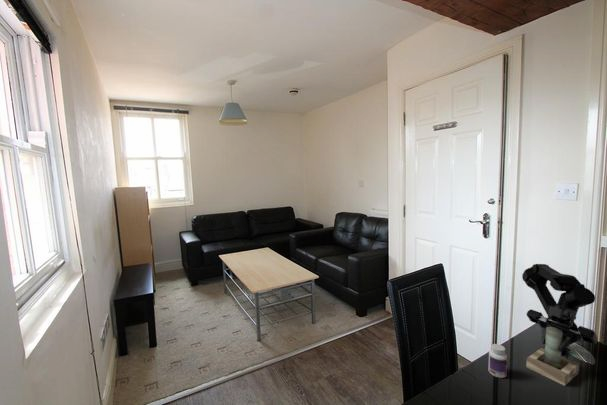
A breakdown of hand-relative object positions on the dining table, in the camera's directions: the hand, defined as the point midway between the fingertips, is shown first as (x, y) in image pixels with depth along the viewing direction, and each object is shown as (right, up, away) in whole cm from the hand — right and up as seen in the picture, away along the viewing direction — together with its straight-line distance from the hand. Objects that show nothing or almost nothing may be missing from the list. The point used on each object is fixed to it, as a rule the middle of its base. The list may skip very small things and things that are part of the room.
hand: (551, 347), depth 103 cm
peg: (+1, -6, +1) cm, 7 cm away
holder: (+1, -9, +2) cm, 9 cm away
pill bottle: (-18, -10, +1) cm, 21 cm away
